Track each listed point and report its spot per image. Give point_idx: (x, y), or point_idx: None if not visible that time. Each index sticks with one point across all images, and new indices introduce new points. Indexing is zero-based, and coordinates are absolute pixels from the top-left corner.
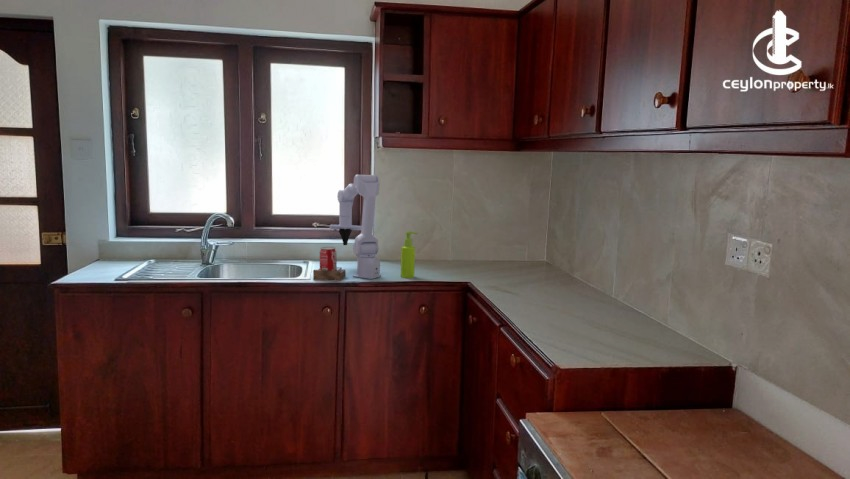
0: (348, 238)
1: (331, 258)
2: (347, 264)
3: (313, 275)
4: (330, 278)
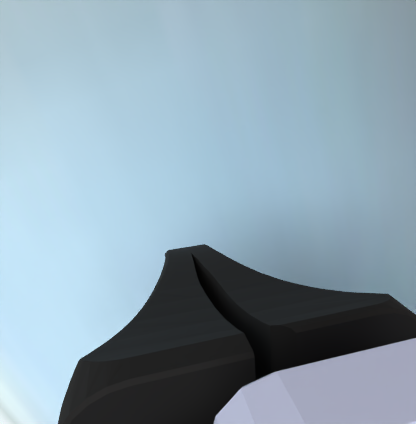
0: (251, 273)
1: None
2: (139, 83)
3: None
4: None
